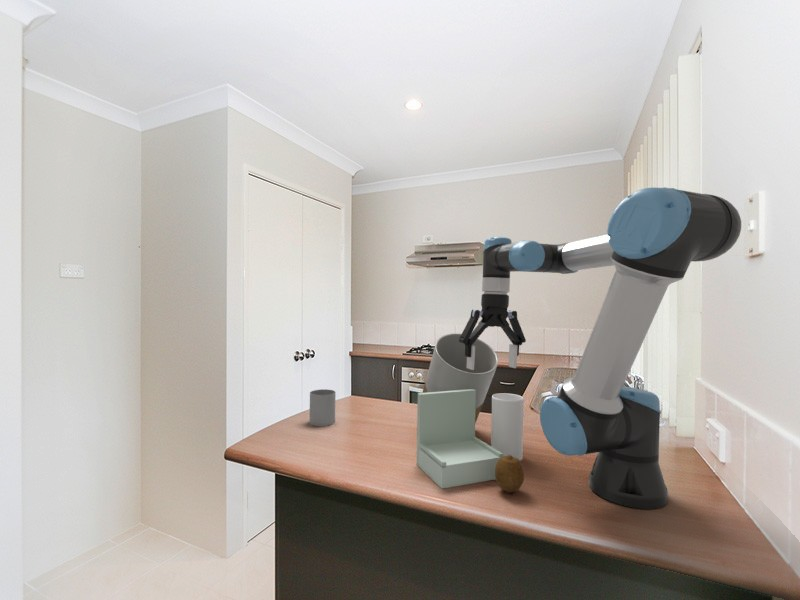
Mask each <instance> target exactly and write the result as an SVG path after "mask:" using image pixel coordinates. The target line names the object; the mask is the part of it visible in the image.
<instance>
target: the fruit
mask: <svg viewBox="0 0 800 600" xmlns="http://www.w3.org/2000/svg"><path fill="white" fill-rule="evenodd" d="M495 478H496V479H495V481H496V483H497V485H498V487H499V488H500V489H501V490H503V491H505V492H506V493H514V492H517V491H518V490H519V489H520V488H521V487H522V486H523V483H524V479H525V472H524V467H523V464H522V463H521V461H519V460H518V459H517V458H515V457H512V456H511V455H508V456H503V457H501V458H500V459H499V460H498V462H497V463H496V466H495Z"/></svg>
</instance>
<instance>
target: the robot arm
mask: <svg viewBox="0 0 800 600" xmlns="http://www.w3.org/2000/svg"><path fill="white" fill-rule="evenodd" d="M606 231H607V232H606V233H605V234H604V233H603V234H600V235H595V236H591V237H587V238H582V239H576V240H574V241H573V240H572V241H570V242H564V243H560V244H554V243H553V244H548V243H540V242H537V241H534V240H521V241H516V242H512V239H511V238H509V237H503V236H496V237H488V238H486V239H485V240H484V245H483V246H484V247H483V251H482V254H483V256H482V257H483V258H482V279H481V280H482V283H481V286H482V287H481V291H482V292H483V293H482V295H481V300H480V305H481V310H479V309H474V308H473V309H471V311H470V312H471V313H470V317H469V319H468V321H467V322H466V324H465V327H464V329H463V330H462V333H460V334H461V336H460V338H459V342H462V343H464V344H465V356H466V357H467V368H468V369H471V370H474V361H475V346H473V343H474V342H475V341H476V340H477V339H479V337H480V336H481V335H482V334H483V332H484V331H485V330H486V329H488V328H490V327H491V328H494V327H499V328H501V329H502V331H503V332H504V333H505V335H506V337H507V338H508V339H509V341H510V342H511V343H510V344H509V348H508V366H507V367H509V368H513V369H517V364H518V363H517V361H518V356H519V355H520V346H522V345H523V343H526V341H527V340H526V337H525V334H524V332H523V329H522V327H521V324H520V322H519V319H518V312H517V311H516V310H508V308H509V305H510V303H509V302H510V296H509V294H508V293H510V287H511V286H510V285H511V283H510V282H511V279H510V278H511V272H513V273H514V272H524V273H526V272H528V273H549V274H551V273H552V274H553V273H554V274H556V273H557V274H562V275H565V274H568V275H569V274H575V273H577V272H579V271H583V270H591V269H597V268H604V267H611V266H612V267H613V266H614V267H615V271H614V274H613V277H612V280H611V282H610V284H609V287H608V290H607V292H606V295H605V297H604V299H603V301H602V304H601V308H600V310H599V313H598V315H597V318H596V321H595V323H594V326H593V328H592V330H591V333H590V336H589V337H588V340H587V343H586V346H585V348H584V350H583V353H582V356H581V358H580V361H579V364H578V366H577V368H576V371H575V373H574V376H572V377H567V378H566V379H565V380H563V382H562V384H561V387H560V391H559V393H558V395H557V396H551V397H548V398H547V399H545V400H544V401H542V404H541V406H540V409H539V410H540V411H539V421H540V426H541V427H542V432H543V434H544V436H545V438H546V441H547V442H548V443H549V445H550V446H551V447H552V448H553V449H554V450H555V451H557V453H559V454H561V455H564V456H567V457H569V456H570V457H571V456H572V457H573V456H579V457H582V456H584V455H589V454H595V453H597V455H596V457H595V460H594V462H593V466H592V467H591V468H592V469H591V471H590V473H589V476H588V477H589V478H588V479H589V481H588V482H589V488H590V489H591V491H592V492H594V493H595V494H596V495H598V496H599V497H600V498H603V499H605V500H607V501H609V502H612V503H614V504H617V505H621V506H623V507H624V506H625V507H628V508H629V507H630V508H634V509H644V510H653V509H654V510H655V509H660V508H663V507H664V506H666V505H667V504H668V502H669V501H668V498H669V495H668V494H669V492H668V488H667V485H666V482H665V480H664V475H663V473H662V469H661V466H660V463H659V462H660V461H659V460H660V459H659V457H660V455H659V453H660V428H661V427H660V423H661V422H660V421H661V419H660V418H661V414H662V411H661V408H660V405H661V404H660V402H661V401H660V398H659V397H658V395H656V394H655V393H654V392H652V391H648V390H646V389H641V388H635V387H629V386H626V385H625V383H626V380H627V378H628V376H629V374H630V372H631V369H632V367H633V365H634V363H635V361H636V358H637V356H638V353H639V352H640V349H641V347H642V346H643V343H644V341H645V338H646V337H647V334H648V332H649V330H650V327H651V325H652V323H653V321H654V318H655V316H656V314H657V312H658V310H659V308H660V305H661V303H662V301H663V299H664V296H665V294H666V292H667V290H668V288H669V286H670V285H672V284H673V283H676V282H678V281H681V280H683V279H684V277H685V276H686V273H687V270H688V268H689V266H690V264H691V263H692V262H704V261H711V260H713V259H717V258H719V257H720V256H722V255H724V254H726V253H727V252H728V251H729V250H730V249H732V248H733V247H734V245H735V244H737V241H738V240H739V238H740V234H741V231H742V219H741V216H740V213H739V210H738V209H737V208H736V207H735V206H734V205H733V204H732V203H731V202H730V201H728V200H727V199H725V198H723V197H720V196H718V195H714V194H710V193H709V194H707V193H701V192H693V191H689V190H688V191H687V190H683V189H678V188H674V187H646V188H641V189H638V190H636V191H634V192H633V193H631V194H630V195H627V196H626V197H625V198H624V199H623V200H621V202H619V203H618V205H617V206H616V208H615V209H614V211H613V212H612V214H611V216H610V218H609V220H608V224H607V229H606ZM480 318H481V319H480ZM507 319H508V320H507ZM479 320H480V321H479ZM478 321H479V322H478ZM508 321H509V322H508ZM477 323H478V324H477Z"/></svg>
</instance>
